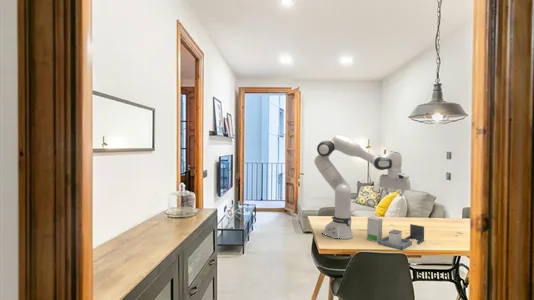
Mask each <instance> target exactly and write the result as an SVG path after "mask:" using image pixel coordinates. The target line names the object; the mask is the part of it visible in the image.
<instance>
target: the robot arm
mask: <svg viewBox="0 0 534 300" xmlns="http://www.w3.org/2000/svg"><path fill="white" fill-rule="evenodd" d="M316 151H317V154H318V155H317V156H316V157H315V158H314V165H315V166H316V169H317V170H318V172H319V173H320V174H321V176H322V177H323V178H324V179H325V182H326V183H327V184H328V185H329V186H330V187H331V188H332V189H333V191H334V216H332V217H331V219H332V221H330V222H329V223H328V224H326V225H325V226H324V227H325V228H324V230H323V231H322V232H321V234H322V233H323V234H326V235H328V236H327V237H329V236H331V237H333V238H332V239H334V238H338V239H337V240H349V239H353V234H352V233H353V232H352V216H351V207H352V206H351V203H352V189H351V187H350V185H349V183H348V182H347V181H346V179H345V178H344V176H342V174H341V173H340V172H339V170H338V169H337V168H336V167H335V165H334V164H333V163H332V161H331V160H330V156H331V155H332V153H333V152H334V151H338V152H341V153H342V154H344V155H346V156H349V157H355V158H356V157H357V158H361V159H362V160H364V161H366V162H368V163H370V164H372V166H373V167H374V168H375V169H376V170H379V171H384V170H385V171H386V170H387V174H383V173H382V174H380V176H379V187H380V188H383V190H384V192H385V195H388V196H389V195H390V191H388V189H391V190H392V189H393V190H399V191H401V193H399V194H398V195H399V197H403V196H404V195H403V194H404V193H405V191H409V190H411V181H410V179H409V178H410V175H408V174H405V173H404V172H403V171H402V165H403V162H402V161H403V159H402V154H401V153H400V152H397V151H392V150H391V151H389V152H387V153H385V154H382V155H381V154H380V155H379V154H378V155H376V154H374V153H371V152H370V151H367V150H365V148H364V149H363V147H362V146H361V145H360V144H358V143H357V142H356V141H354V140H353V139H351V138H350V137H346V136H343V135H340V134H336V135H334V136H333V137H332V139H331V140H328V139H327V140H321V142H319V144H318V145H317V147H316ZM323 234H322V235H323ZM326 235H325V236H326ZM331 237H330V238H331ZM339 238H340V239H339Z"/></svg>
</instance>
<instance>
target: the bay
mask: <svg viewBox="0 0 534 300" xmlns="http://www.w3.org/2000/svg"><path fill="white" fill-rule="evenodd" d="M409 233H410V234H409V235H408V236H406V237H405V238H404V239H406V240H409V239H410V240H411V239H412V240H415V239H416V244H417V245H420V244H422V243H424V242H425V226H424V225H417V224H413V223H410V225H409Z"/></svg>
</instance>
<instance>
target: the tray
mask: <svg viewBox="0 0 534 300" xmlns="http://www.w3.org/2000/svg"><path fill="white" fill-rule="evenodd" d="M377 243H378V245H380V246H385V247H387V248H388V247H389V248H392V249H396V250H399V251H404V250H405V249H407V248H409V247H410V246H412V245H413V241H412V240H411V239H410V240H406V239H405V238H402V243H401V244H399V245H397V244H393V243H389V235H387V236H385V237H382V239H381V240H379V242H377Z"/></svg>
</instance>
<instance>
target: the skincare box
mask: <svg viewBox="0 0 534 300" xmlns="http://www.w3.org/2000/svg"><path fill="white" fill-rule="evenodd" d="M366 226H367V227H366V240H367V241H372V242H376V243H378V242H379V240H381V239H383V218H382V217H376V216H372V215H371V216H369V217H367V225H366Z"/></svg>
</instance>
